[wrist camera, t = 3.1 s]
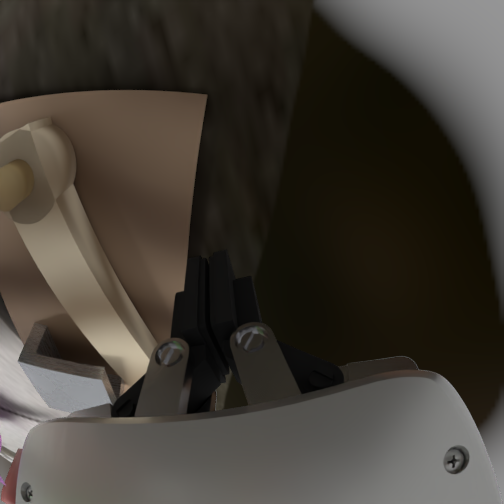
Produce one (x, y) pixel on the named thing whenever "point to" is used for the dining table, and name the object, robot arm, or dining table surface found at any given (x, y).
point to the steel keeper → (65, 376)
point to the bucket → (11, 481)
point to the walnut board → (113, 205)
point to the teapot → (0, 476)
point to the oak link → (69, 245)
